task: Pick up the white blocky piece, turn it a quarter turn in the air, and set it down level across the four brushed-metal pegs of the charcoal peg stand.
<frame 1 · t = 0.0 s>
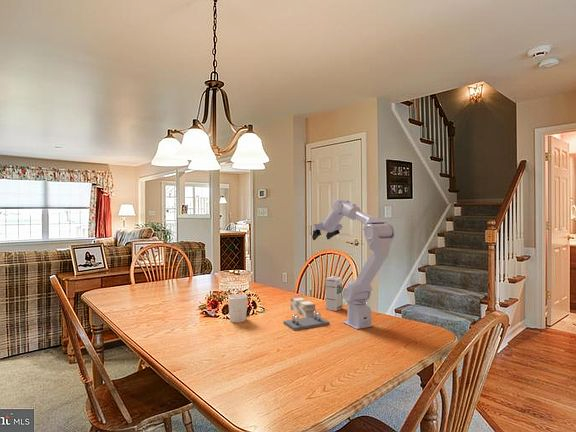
hand: (320, 238, 170), 32 cm above the table, tool tilted 50°, fingers open, 7 cm apart
white blocky piece: (302, 313, 162), on the table
white cup: (237, 320, 151), on the table
syrup box: (333, 309, 168), on the table
peg stand: (306, 323, 146), on the table
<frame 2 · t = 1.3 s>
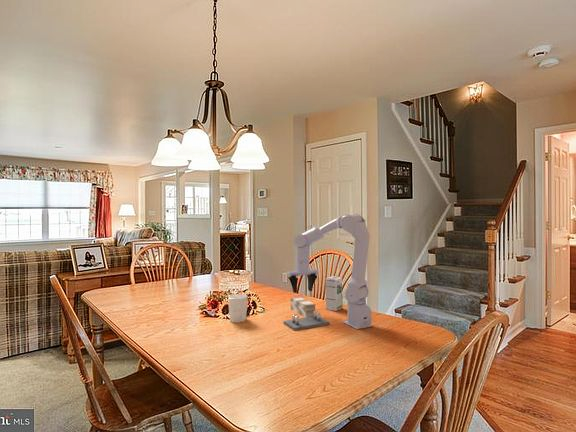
hand: (302, 291, 161), 9 cm above the table, tool pointing down, fingers open, 7 cm apart
nothing on the table moved.
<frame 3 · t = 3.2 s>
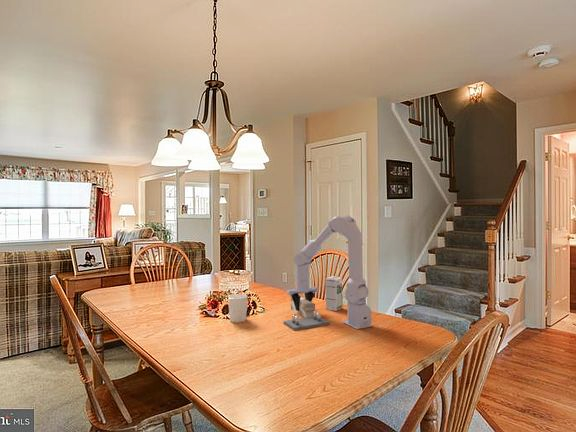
hand: (302, 309, 162), 1 cm above the table, tool pointing down, fingers closed on white blocky piece, 4 cm apart
white blocky piece: (302, 312, 162), on the table, touching gripper
everything else where it was.
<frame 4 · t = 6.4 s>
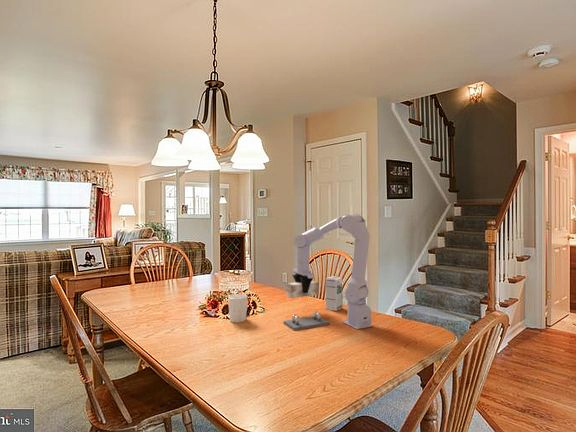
hand: (302, 291, 161), 9 cm above the table, tool pointing down, fingers closed on white blocky piece, 4 cm apart
white blocky piece: (302, 295, 161), point 8 cm above the table, touching gripper
everything else where it was.
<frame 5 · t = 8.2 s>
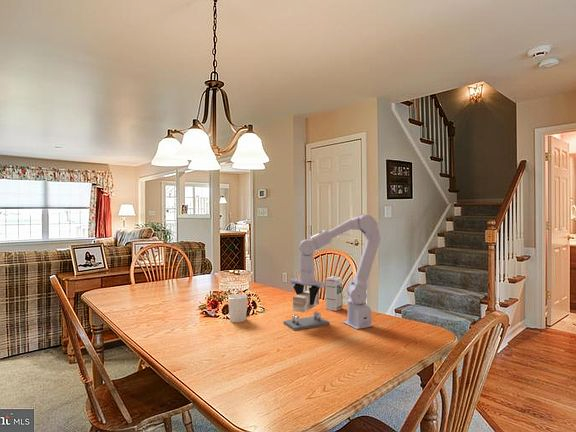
hand: (306, 303, 146), 8 cm above the table, tool pointing down, fingers closed on white blocky piece, 4 cm apart
white blocky piece: (306, 307, 146), point 7 cm above the table, touching gripper
everything else where it was.
when the fingers open (7 cm above the table, at t = 9.7 s): white blocky piece drops 1 cm, resting on peg stand.
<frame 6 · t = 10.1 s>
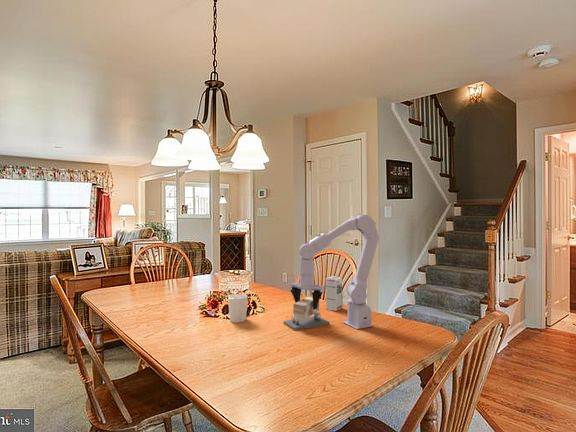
hand: (306, 307, 146), 7 cm above the table, tool pointing down, fingers open, 7 cm apart
white blocky piece: (306, 314, 146), point 4 cm above the table, touching peg stand
everything else where it was.
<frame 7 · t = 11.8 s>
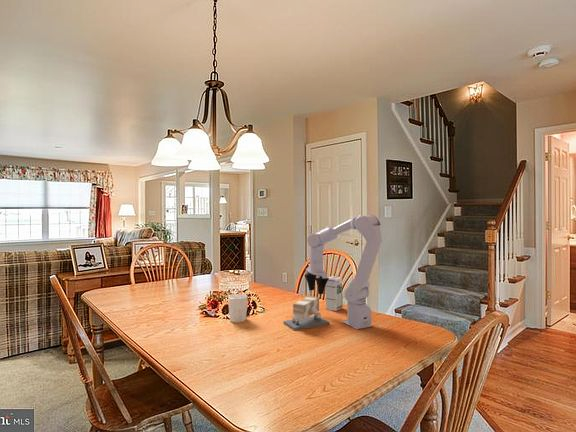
hand: (316, 292, 159), 10 cm above the table, tool pointing down, fingers open, 7 cm apart
nothing on the table moved.
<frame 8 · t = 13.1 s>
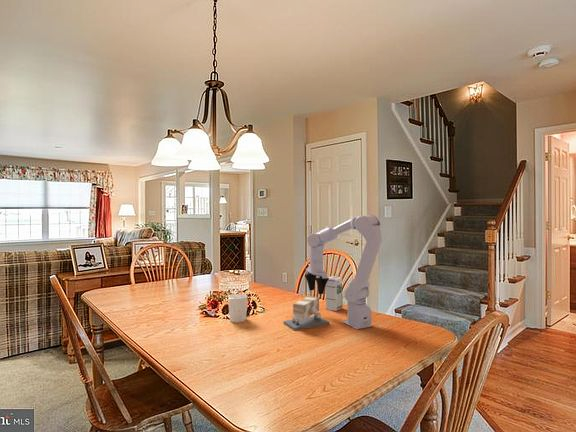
hand: (316, 292, 159), 10 cm above the table, tool pointing down, fingers open, 7 cm apart
nothing on the table moved.
at the end: white blocky piece 0.0 cm off-centre on the peg stand, point 4.0 cm above the peg stand's base; white blocky piece tilted 0°; the gripper is holding nothing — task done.
